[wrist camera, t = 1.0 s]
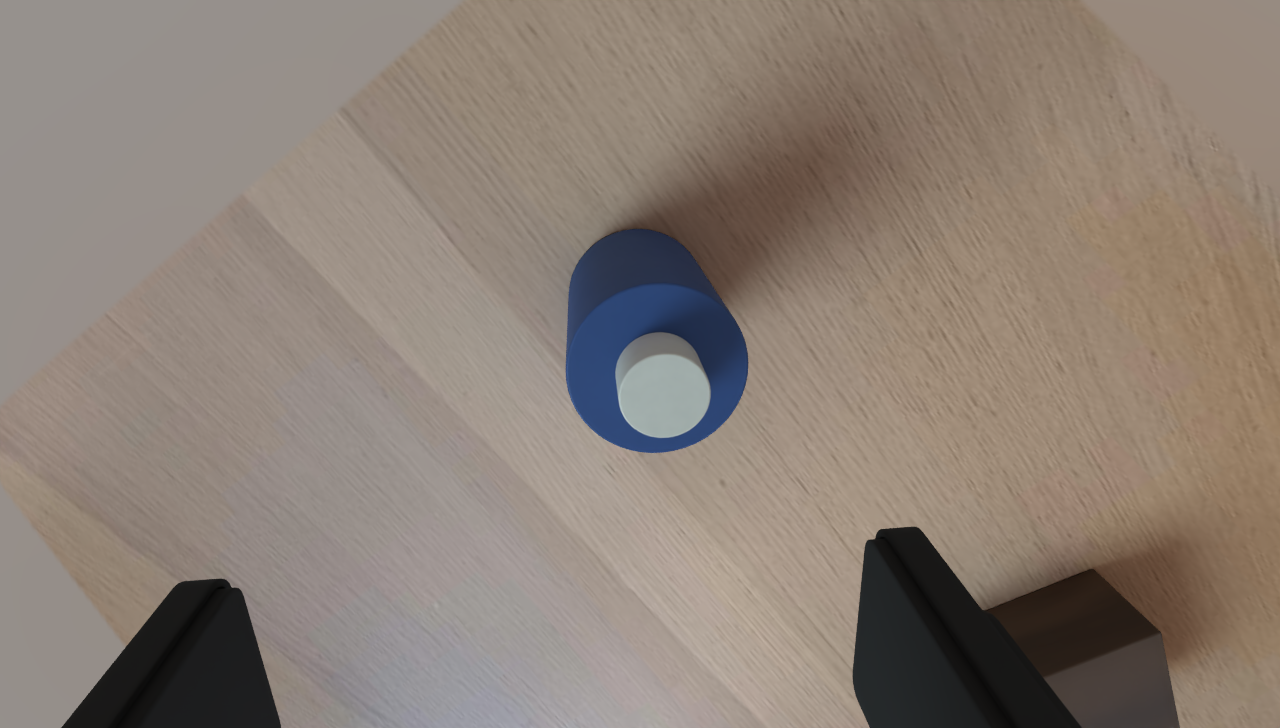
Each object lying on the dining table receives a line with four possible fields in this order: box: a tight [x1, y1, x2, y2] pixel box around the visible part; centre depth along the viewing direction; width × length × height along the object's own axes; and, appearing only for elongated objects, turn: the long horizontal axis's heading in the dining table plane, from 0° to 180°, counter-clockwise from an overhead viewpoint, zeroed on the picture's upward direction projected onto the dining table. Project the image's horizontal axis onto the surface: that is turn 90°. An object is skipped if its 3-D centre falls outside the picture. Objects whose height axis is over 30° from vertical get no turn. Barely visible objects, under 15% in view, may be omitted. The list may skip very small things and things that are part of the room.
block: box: [987, 569, 1180, 728], centre depth 39 cm, size 10×10×5 cm
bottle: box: [566, 229, 748, 453], centre depth 27 cm, size 6×6×11 cm
